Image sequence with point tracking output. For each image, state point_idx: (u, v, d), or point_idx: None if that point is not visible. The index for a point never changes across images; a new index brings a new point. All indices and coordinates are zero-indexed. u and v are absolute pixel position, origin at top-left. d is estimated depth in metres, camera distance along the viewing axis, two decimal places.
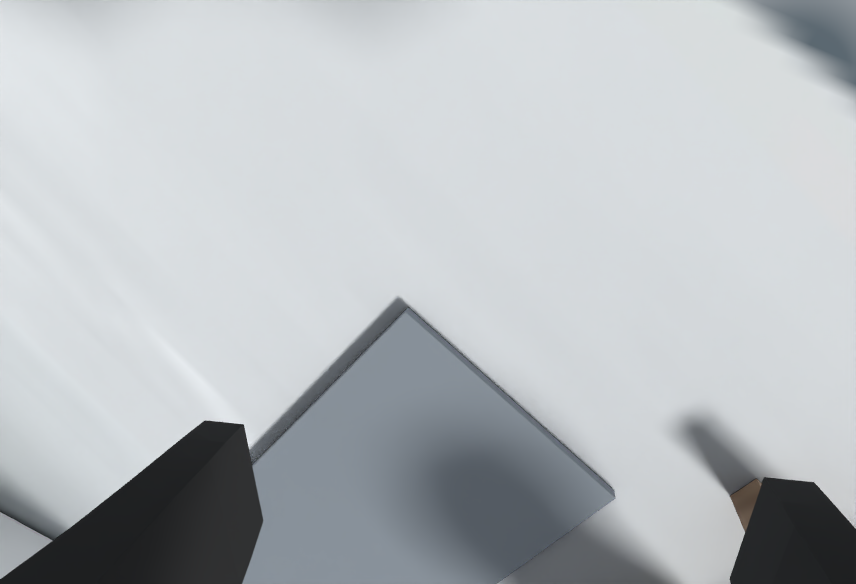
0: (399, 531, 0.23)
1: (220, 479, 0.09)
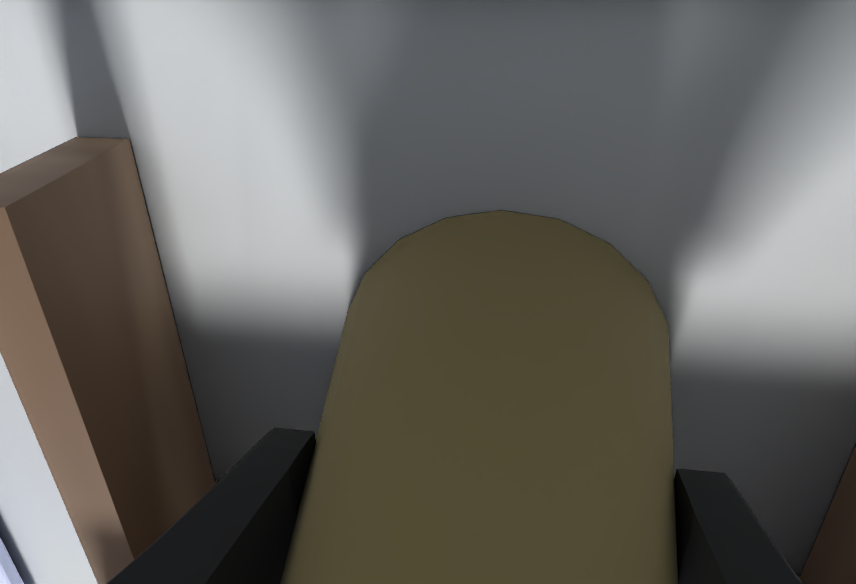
0: None
1: (295, 487, 0.09)
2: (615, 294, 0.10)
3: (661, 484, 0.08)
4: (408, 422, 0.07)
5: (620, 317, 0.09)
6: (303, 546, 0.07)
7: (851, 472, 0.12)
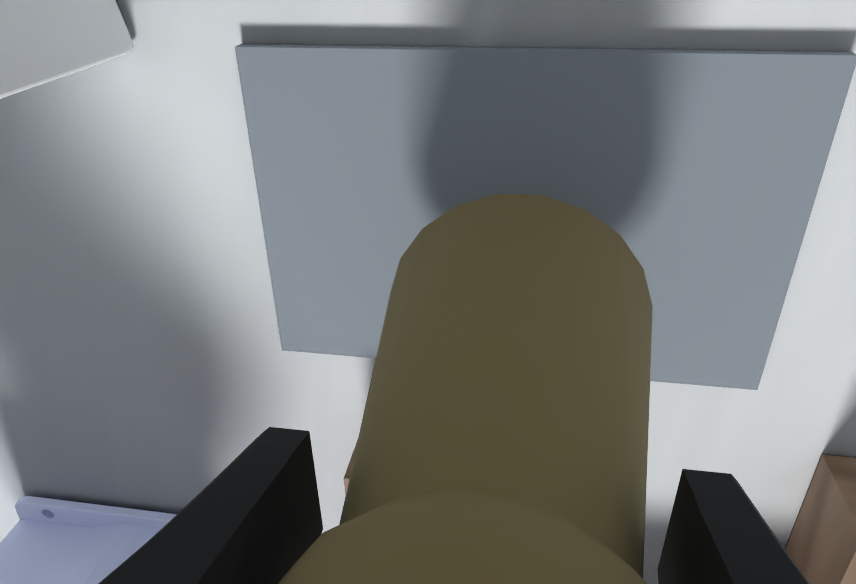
0: None
1: (290, 487, 0.09)
2: (588, 242, 0.13)
3: (623, 363, 0.11)
4: (431, 331, 0.11)
5: (591, 257, 0.12)
6: (366, 421, 0.10)
7: None
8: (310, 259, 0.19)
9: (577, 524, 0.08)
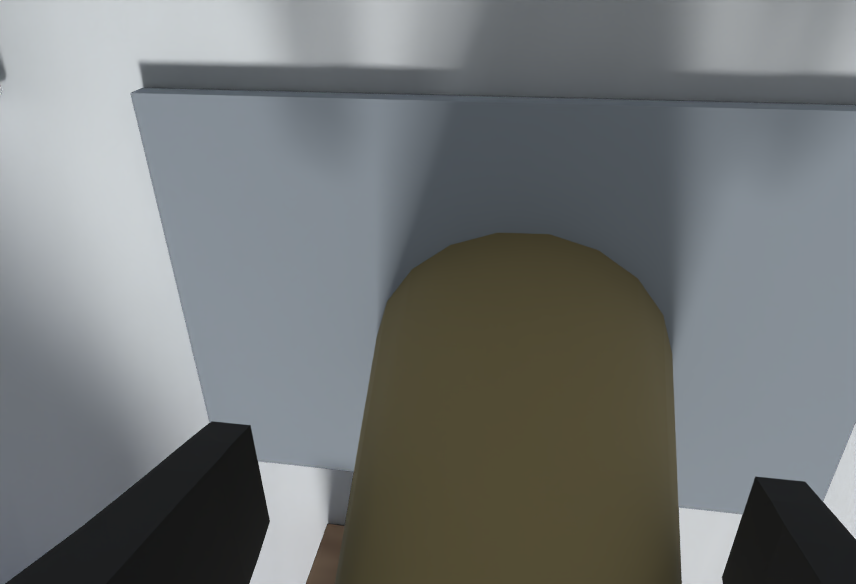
0: None
1: (227, 480, 0.09)
2: (603, 295, 0.11)
3: (652, 456, 0.09)
4: (426, 425, 0.09)
5: (609, 315, 0.11)
6: (350, 537, 0.09)
7: None
8: (246, 355, 0.15)
9: None
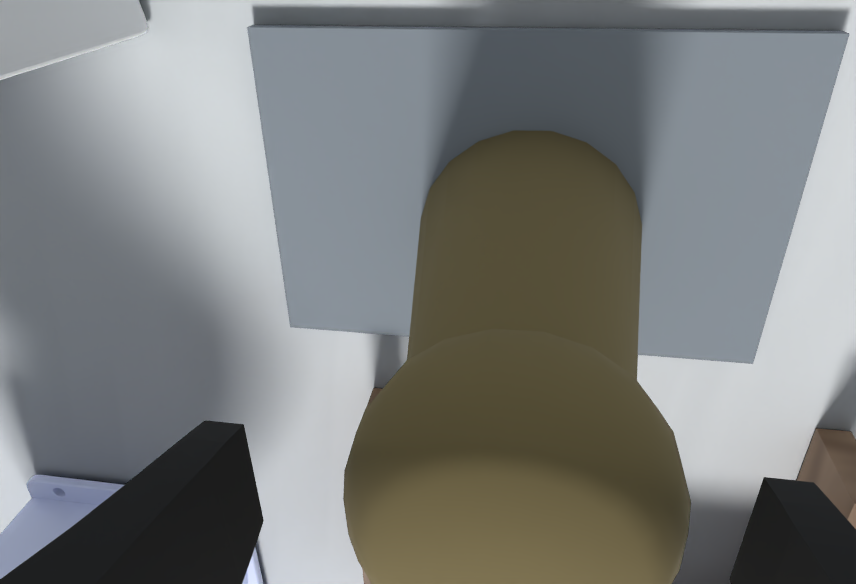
0: None
1: (220, 479, 0.09)
2: (590, 168, 0.16)
3: (620, 257, 0.14)
4: (469, 233, 0.13)
5: (593, 179, 0.15)
6: (421, 302, 0.13)
7: None
8: (319, 237, 0.19)
9: None
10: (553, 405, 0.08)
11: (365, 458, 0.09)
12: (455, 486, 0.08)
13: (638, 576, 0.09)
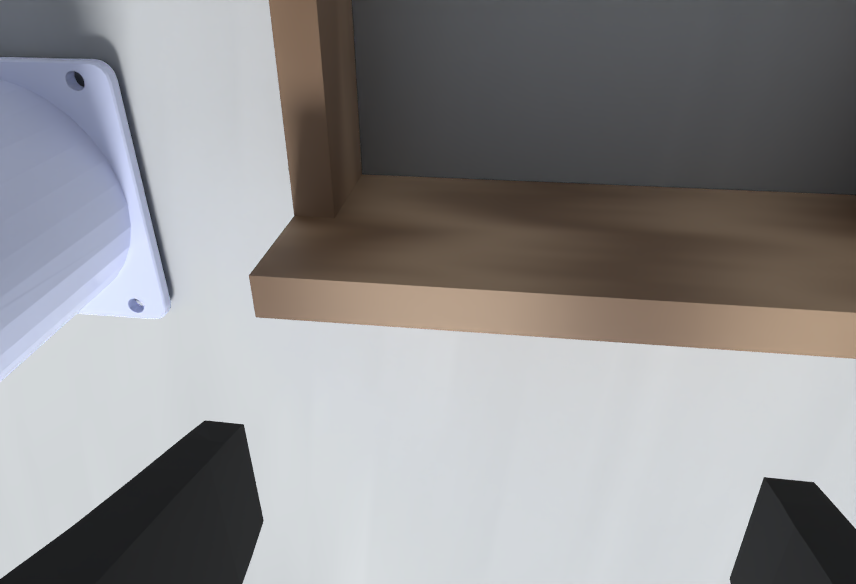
0: None
1: (220, 479, 0.09)
2: None
3: None
4: None
5: None
6: None
7: None
8: None
9: None
10: None
11: None
12: None
13: None
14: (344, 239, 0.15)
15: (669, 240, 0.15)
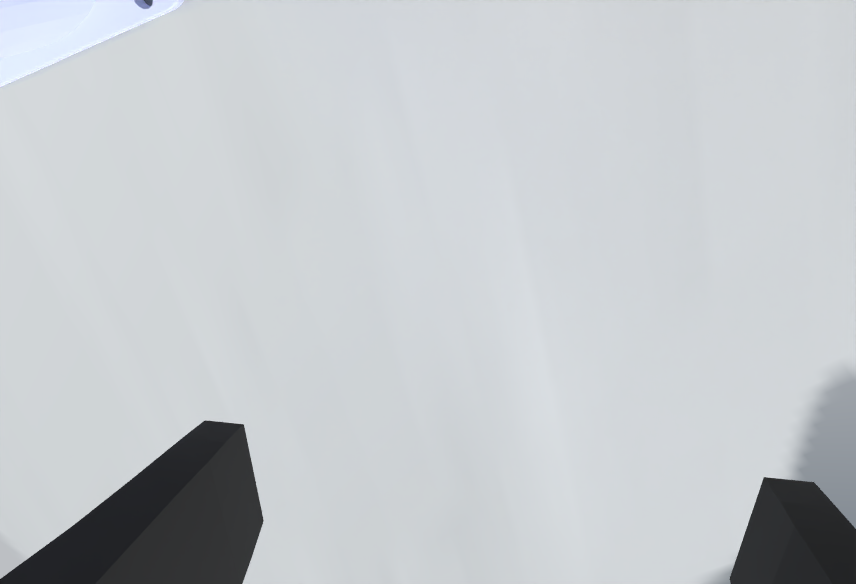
0: None
1: (220, 479, 0.09)
2: None
3: None
4: None
5: None
6: None
7: None
8: None
9: None
10: None
11: None
12: None
13: None
14: None
15: None
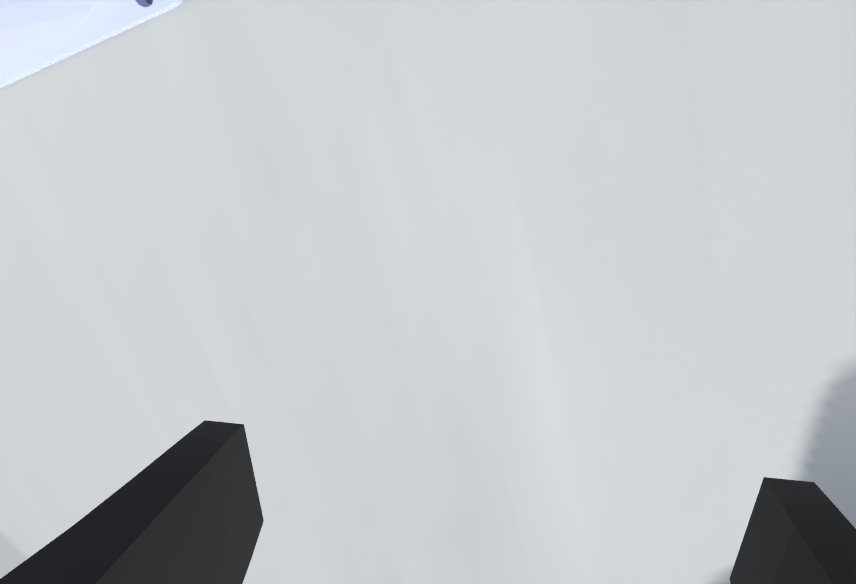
0: None
1: (220, 479, 0.09)
2: None
3: None
4: None
5: None
6: None
7: None
8: None
9: None
10: None
11: None
12: None
13: None
14: None
15: None
